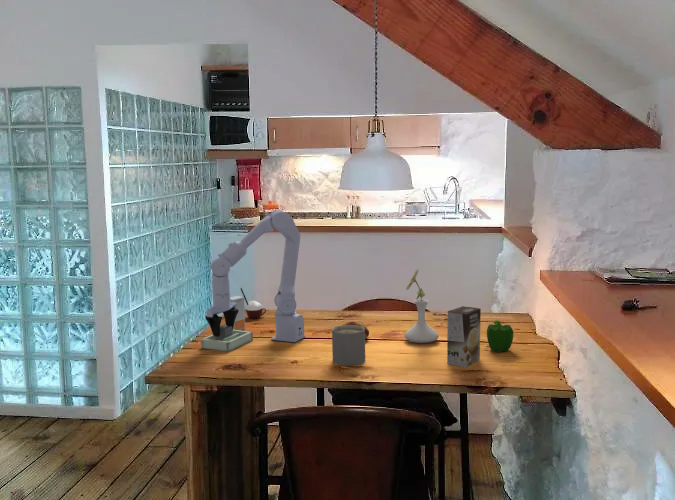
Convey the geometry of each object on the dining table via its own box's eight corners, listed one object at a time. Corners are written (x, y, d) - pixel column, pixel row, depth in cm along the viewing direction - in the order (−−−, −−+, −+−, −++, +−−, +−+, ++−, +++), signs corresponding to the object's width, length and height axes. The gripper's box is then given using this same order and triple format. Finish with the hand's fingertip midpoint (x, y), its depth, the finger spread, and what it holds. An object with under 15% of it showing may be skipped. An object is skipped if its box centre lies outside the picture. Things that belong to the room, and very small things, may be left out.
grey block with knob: (232, 340, 223) (231, 324, 222) (225, 343, 220) (225, 326, 219) (222, 339, 225) (222, 323, 224) (215, 342, 221) (215, 325, 221)
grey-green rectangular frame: (252, 340, 226) (252, 331, 225) (229, 351, 213) (228, 342, 213) (226, 337, 231) (225, 328, 230) (201, 348, 218) (201, 339, 218)
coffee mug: (363, 366, 196) (363, 333, 194) (330, 365, 197) (329, 333, 195) (367, 352, 209) (366, 322, 207) (336, 352, 210) (335, 321, 209)
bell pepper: (502, 345, 214) (502, 315, 212) (518, 351, 206) (518, 320, 205) (480, 348, 211) (480, 317, 209) (495, 355, 203) (495, 323, 202)
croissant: (354, 340, 236) (344, 320, 236) (378, 328, 233) (368, 308, 233) (337, 356, 216) (326, 334, 216) (363, 344, 213) (352, 322, 213)
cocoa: (266, 316, 260) (266, 286, 259) (263, 320, 254) (263, 289, 253) (242, 315, 261) (243, 285, 260) (238, 319, 255) (239, 288, 254)
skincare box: (233, 332, 236) (232, 299, 235) (225, 330, 239) (224, 298, 237) (246, 328, 241) (244, 296, 239) (237, 327, 244) (236, 295, 242)
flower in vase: (413, 334, 228) (412, 263, 225) (443, 338, 222) (444, 265, 219) (396, 344, 217) (395, 269, 214) (428, 348, 211) (428, 272, 208)
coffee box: (465, 368, 192) (466, 314, 190) (446, 364, 196) (446, 311, 194) (480, 360, 199) (481, 308, 197) (461, 356, 203) (461, 305, 201)
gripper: (224, 288, 228) (226, 326, 230) (198, 297, 215) (200, 337, 217) (241, 290, 225) (242, 328, 227) (215, 298, 212) (217, 339, 214)
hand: (223, 333), depth 222 cm, fingers open, 7 cm apart
